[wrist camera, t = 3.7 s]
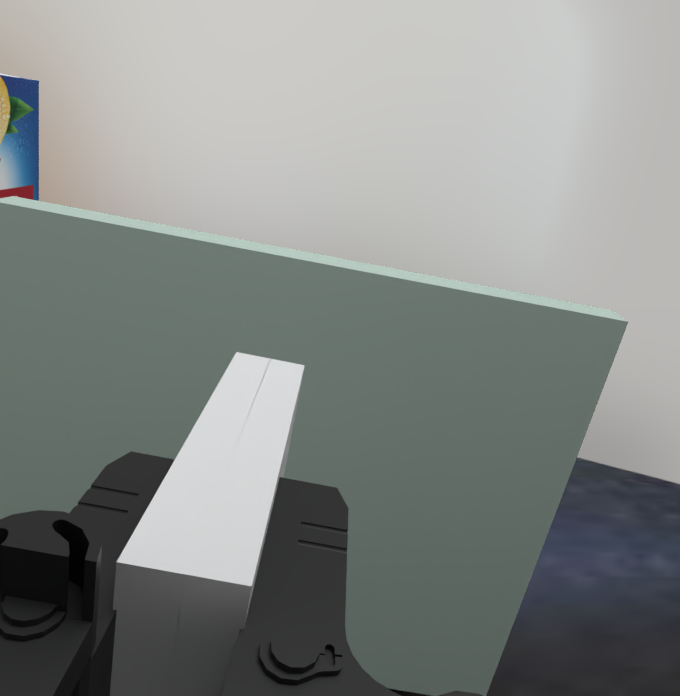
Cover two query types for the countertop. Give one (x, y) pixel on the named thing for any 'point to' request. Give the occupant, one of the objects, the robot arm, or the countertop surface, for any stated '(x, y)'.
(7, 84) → the blue food box
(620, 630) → the countertop surface
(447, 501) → the grey-green angled piece
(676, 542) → the countertop surface
